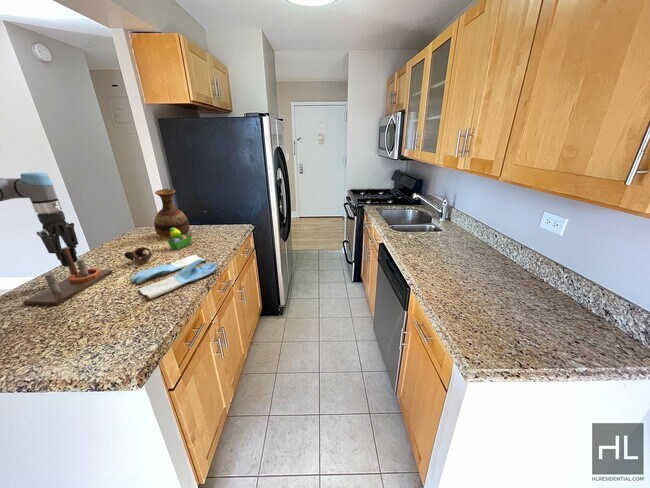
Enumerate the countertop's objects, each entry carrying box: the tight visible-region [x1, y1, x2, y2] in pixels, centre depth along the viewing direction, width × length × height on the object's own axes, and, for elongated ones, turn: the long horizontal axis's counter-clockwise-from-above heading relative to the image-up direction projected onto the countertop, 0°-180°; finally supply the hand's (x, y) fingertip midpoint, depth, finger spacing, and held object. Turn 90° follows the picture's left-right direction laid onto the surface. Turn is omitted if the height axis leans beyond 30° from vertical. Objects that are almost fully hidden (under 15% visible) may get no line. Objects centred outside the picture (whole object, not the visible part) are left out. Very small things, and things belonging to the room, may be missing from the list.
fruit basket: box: [166, 228, 192, 250], centre depth 150 cm, size 11×9×11 cm
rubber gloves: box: [129, 254, 219, 300], centre depth 119 cm, size 27×33×6 cm
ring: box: [61, 246, 102, 282], centre depth 113 cm, size 11×11×14 cm
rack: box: [22, 258, 113, 306], centre depth 108 cm, size 13×26×10 cm, turn 178°
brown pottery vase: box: [153, 188, 190, 238], centre depth 165 cm, size 20×20×30 cm
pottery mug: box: [123, 246, 154, 266], centre depth 132 cm, size 12×10×8 cm
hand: (70, 263), depth 113 cm, fingers open, 3 cm apart
